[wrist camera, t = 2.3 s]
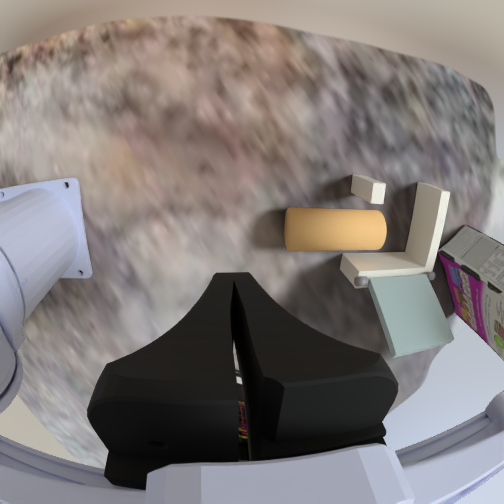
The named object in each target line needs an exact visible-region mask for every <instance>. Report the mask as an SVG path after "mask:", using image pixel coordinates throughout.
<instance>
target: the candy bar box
mask: <svg viewBox="0 0 504 504" xmlns="http://www.w3.org/2000/svg"><path fill="white" fill-rule="evenodd" d="M438 254H439V257H440V260H441V263H442V266H443V269H444V272H445V275H446V279H447V282H448V285H449V289H450V293H451V297H452V301H453V305H454V309H455V313H456V315H458V316H459V317H460V318H461V319H462V320H463V321H464V322H465V323H466V324H467V325H468V326H470V328H471V329H473V330H474V331H475V332H476V333H477V334H478V335H479V336H480V337H481V338H482V339H483V340H484V341H485V342H486V343H487V344H488V345H489V346H490V347H491V348H492V349H493V350H494V351H495V352H496V353H497V354H498V355H499V356H500V357H501V359H502V360H503V361H504V245H503V244H502V243H500V242H498V241H496V240H495V239H493V238H491V237H489V236H487V235H485V234H484V233H482V232H480V231H478V230H476V229H474V228H472V227H470V226H468V225H464V226H463V227H462V228H461V229H459V230H458V231H457V233H456V234H455V235H454V236H453V237H452V238H451V239H450V240H449V241H448V242H446V243H445V244H444V245H443V246H442V247H441V248H440V249H439V250H438Z"/></svg>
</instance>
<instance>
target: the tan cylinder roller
mask: <svg viewBox="0 0 504 504" xmlns="http://www.w3.org/2000/svg"><path fill="white" fill-rule="evenodd" d="M386 232H387V228H386V222H385V218H384V216H383V214H382V213H381V212H380V211H377V210H356V209H327V208H288V209H287V211H286V214H285V225H284V238H285V244H286V248H287V250H288V251H334V250H378V249H380V248H381V247H382V246H383V244H384V242H385V239H386Z"/></svg>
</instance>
